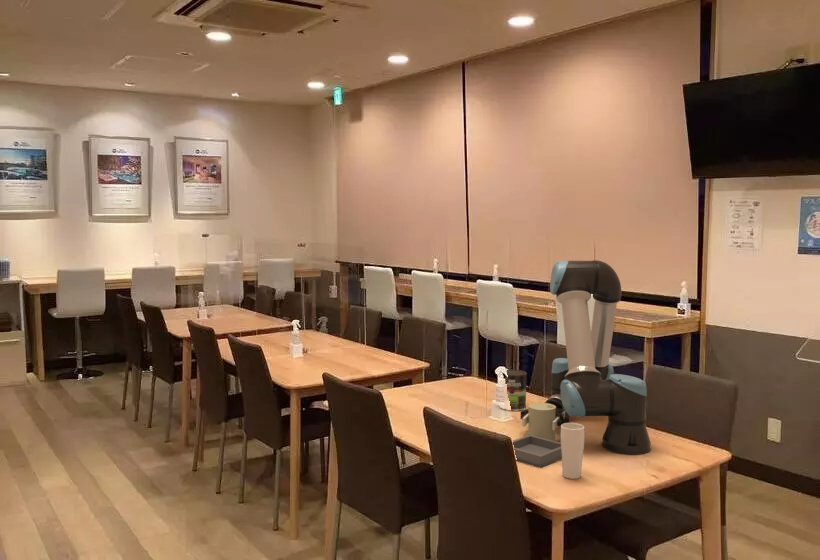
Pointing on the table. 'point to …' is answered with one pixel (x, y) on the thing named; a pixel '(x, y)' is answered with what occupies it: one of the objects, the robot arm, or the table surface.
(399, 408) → the table surface
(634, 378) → the robot arm
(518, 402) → the coffee can
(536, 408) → the can
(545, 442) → the tray
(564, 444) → the drinking glass
